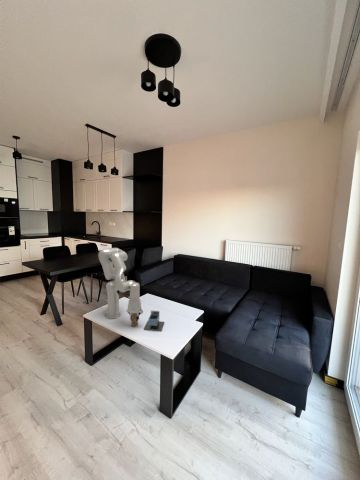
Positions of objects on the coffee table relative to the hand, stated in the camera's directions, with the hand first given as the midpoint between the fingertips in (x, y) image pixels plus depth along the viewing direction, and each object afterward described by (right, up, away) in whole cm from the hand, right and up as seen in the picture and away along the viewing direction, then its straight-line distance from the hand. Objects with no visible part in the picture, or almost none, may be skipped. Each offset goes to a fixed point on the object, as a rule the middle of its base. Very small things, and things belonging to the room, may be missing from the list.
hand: (134, 319), depth 157 cm
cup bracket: (+16, -5, 0) cm, 17 cm away
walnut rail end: (0, -5, +1) cm, 5 cm away
